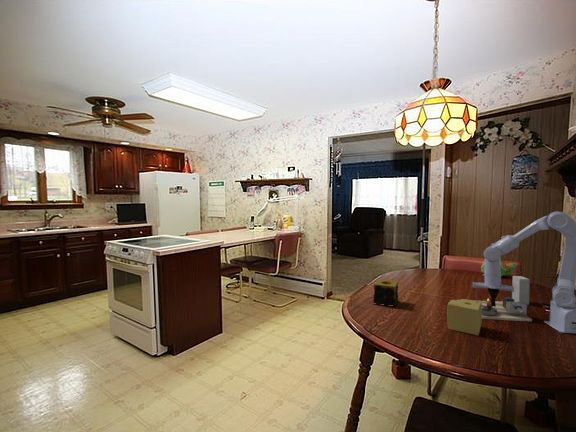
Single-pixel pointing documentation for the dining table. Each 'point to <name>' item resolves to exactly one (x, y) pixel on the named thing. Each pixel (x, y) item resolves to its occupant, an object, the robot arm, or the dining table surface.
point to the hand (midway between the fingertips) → (493, 305)
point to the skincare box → (521, 289)
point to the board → (503, 313)
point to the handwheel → (489, 308)
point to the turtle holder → (502, 268)
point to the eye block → (511, 308)
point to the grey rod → (511, 301)
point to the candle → (385, 292)
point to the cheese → (464, 316)
